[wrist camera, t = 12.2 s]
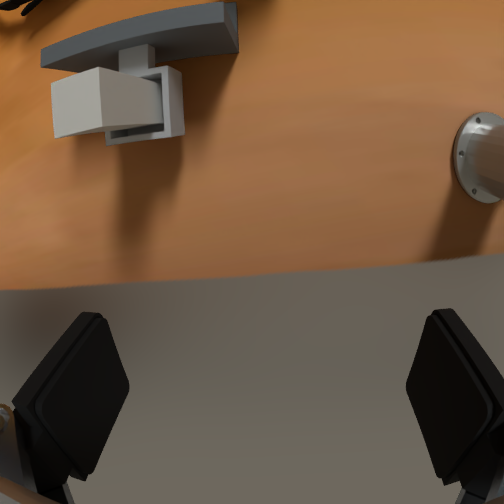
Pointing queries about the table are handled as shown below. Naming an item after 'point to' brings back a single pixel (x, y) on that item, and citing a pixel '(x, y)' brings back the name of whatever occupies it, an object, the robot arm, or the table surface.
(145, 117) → the rail
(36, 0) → the headset
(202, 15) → the bracket
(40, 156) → the table surface
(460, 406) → the robot arm
